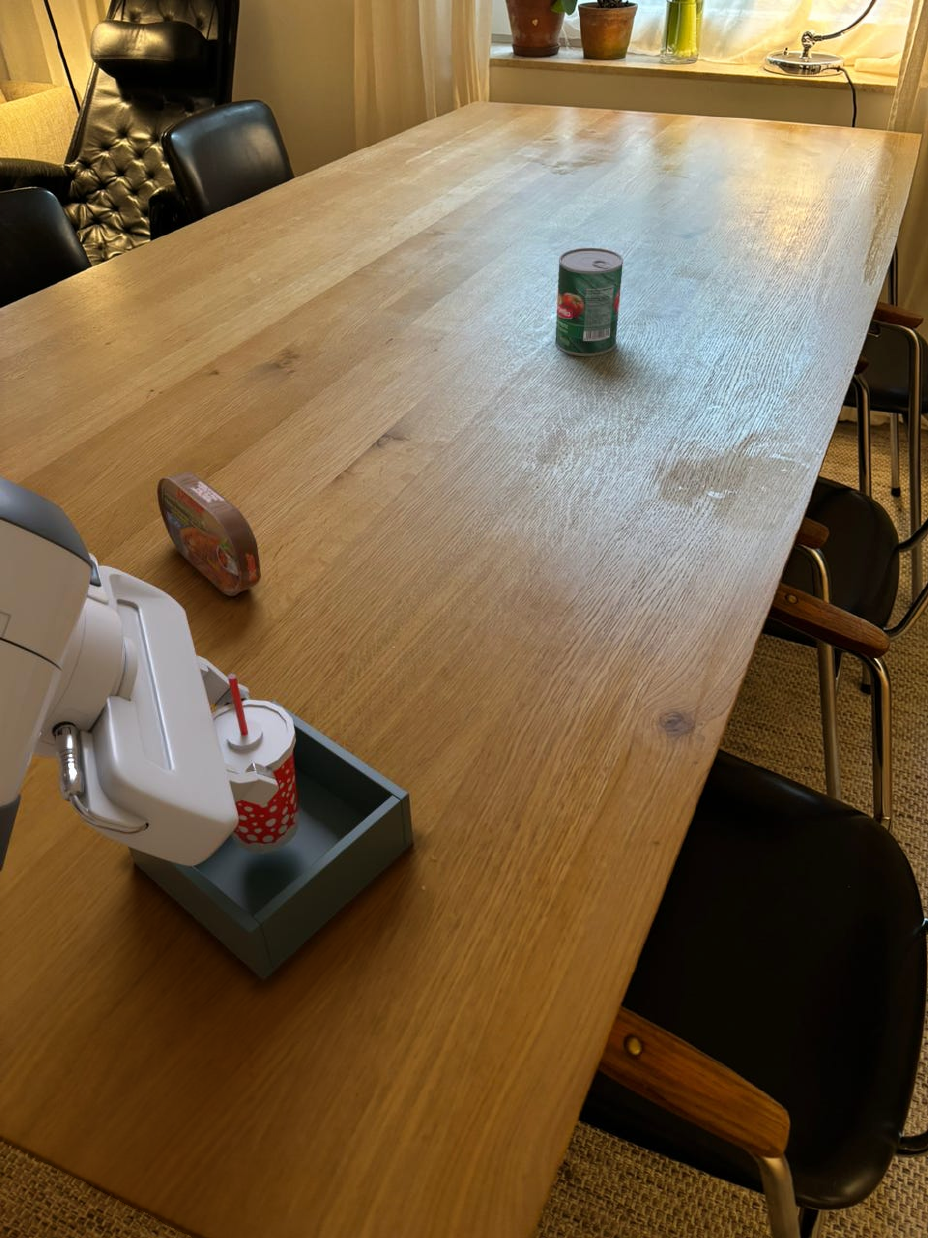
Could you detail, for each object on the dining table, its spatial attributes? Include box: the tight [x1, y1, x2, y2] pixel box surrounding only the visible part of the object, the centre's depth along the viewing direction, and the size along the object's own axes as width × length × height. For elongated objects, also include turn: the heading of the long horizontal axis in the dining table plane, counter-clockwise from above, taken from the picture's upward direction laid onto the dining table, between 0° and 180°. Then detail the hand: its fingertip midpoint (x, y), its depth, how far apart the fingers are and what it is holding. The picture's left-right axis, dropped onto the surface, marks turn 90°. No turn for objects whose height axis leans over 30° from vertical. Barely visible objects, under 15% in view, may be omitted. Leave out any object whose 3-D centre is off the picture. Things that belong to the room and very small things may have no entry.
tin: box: [156, 471, 262, 597], centre depth 91 cm, size 15×3×8 cm, turn 40°
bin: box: [127, 700, 414, 981], centre depth 67 cm, size 14×14×5 cm
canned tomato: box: [554, 247, 624, 357], centre depth 125 cm, size 8×8×11 cm
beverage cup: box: [211, 673, 299, 853], centre depth 62 cm, size 6×6×14 cm
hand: (257, 744), depth 62 cm, fingers closed on beverage cup, 6 cm apart
